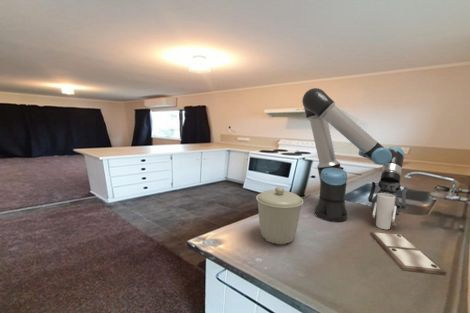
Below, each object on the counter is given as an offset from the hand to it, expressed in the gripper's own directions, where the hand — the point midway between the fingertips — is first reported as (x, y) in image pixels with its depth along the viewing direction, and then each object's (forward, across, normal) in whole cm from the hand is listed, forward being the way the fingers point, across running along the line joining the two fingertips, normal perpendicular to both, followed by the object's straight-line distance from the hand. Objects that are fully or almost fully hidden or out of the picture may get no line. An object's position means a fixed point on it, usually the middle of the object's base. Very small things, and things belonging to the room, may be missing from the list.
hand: (383, 218), depth 94 cm
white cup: (+1, 0, -6) cm, 7 cm away
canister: (+29, +32, +21) cm, 48 cm away
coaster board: (+14, -8, +6) cm, 17 cm away
